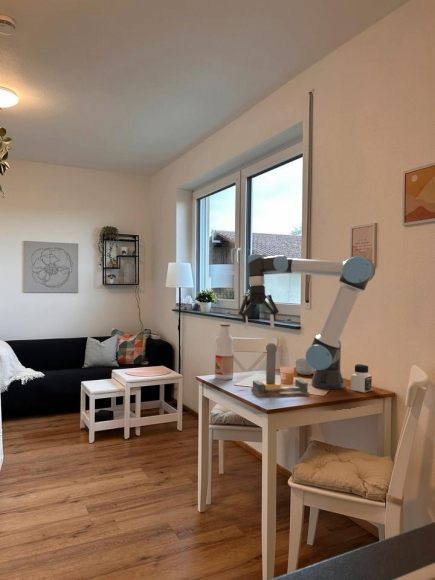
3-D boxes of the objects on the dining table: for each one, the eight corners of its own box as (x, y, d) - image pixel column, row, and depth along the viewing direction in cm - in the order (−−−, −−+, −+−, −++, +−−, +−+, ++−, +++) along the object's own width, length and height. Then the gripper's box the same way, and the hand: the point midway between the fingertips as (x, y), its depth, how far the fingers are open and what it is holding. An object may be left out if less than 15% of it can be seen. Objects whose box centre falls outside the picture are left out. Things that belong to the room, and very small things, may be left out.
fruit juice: (230, 380, 216) (231, 325, 215) (212, 379, 218) (213, 324, 218) (235, 376, 225) (236, 323, 224) (217, 375, 227) (218, 322, 227)
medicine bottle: (364, 392, 196) (365, 366, 196) (350, 390, 201) (350, 364, 201) (371, 390, 201) (372, 364, 201) (357, 387, 206) (357, 362, 206)
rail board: (298, 389, 201) (298, 378, 201) (309, 395, 189) (309, 384, 189) (251, 390, 195) (251, 379, 195) (259, 397, 184) (259, 385, 184)
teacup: (313, 376, 230) (314, 361, 230) (293, 374, 233) (293, 360, 233) (316, 371, 243) (316, 357, 243) (297, 370, 246) (297, 356, 246)
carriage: (275, 385, 195) (276, 341, 195) (280, 389, 188) (281, 343, 188) (260, 386, 194) (261, 341, 194) (265, 389, 187) (266, 344, 187)
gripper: (277, 285, 218) (280, 327, 216) (230, 287, 211) (233, 330, 210) (283, 284, 211) (286, 327, 209) (235, 285, 204) (237, 330, 203)
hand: (259, 328), depth 209 cm, fingers open, 13 cm apart
